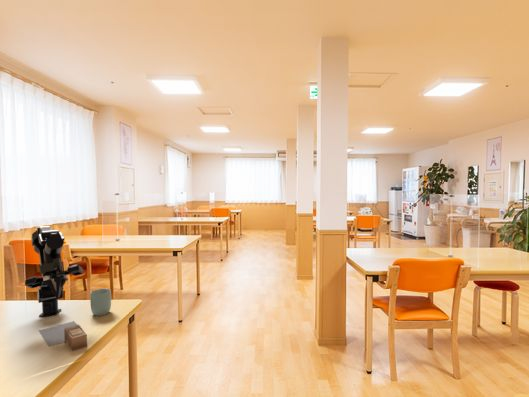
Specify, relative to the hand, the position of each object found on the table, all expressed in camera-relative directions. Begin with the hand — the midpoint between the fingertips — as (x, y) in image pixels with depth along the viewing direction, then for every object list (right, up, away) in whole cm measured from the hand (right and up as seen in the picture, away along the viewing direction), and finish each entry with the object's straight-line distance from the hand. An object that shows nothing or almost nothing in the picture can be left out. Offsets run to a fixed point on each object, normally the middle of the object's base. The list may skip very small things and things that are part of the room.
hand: (57, 297), depth 126 cm
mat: (+4, -13, -3) cm, 13 cm away
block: (+10, -10, -8) cm, 16 cm away
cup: (+9, -12, +16) cm, 22 cm away
